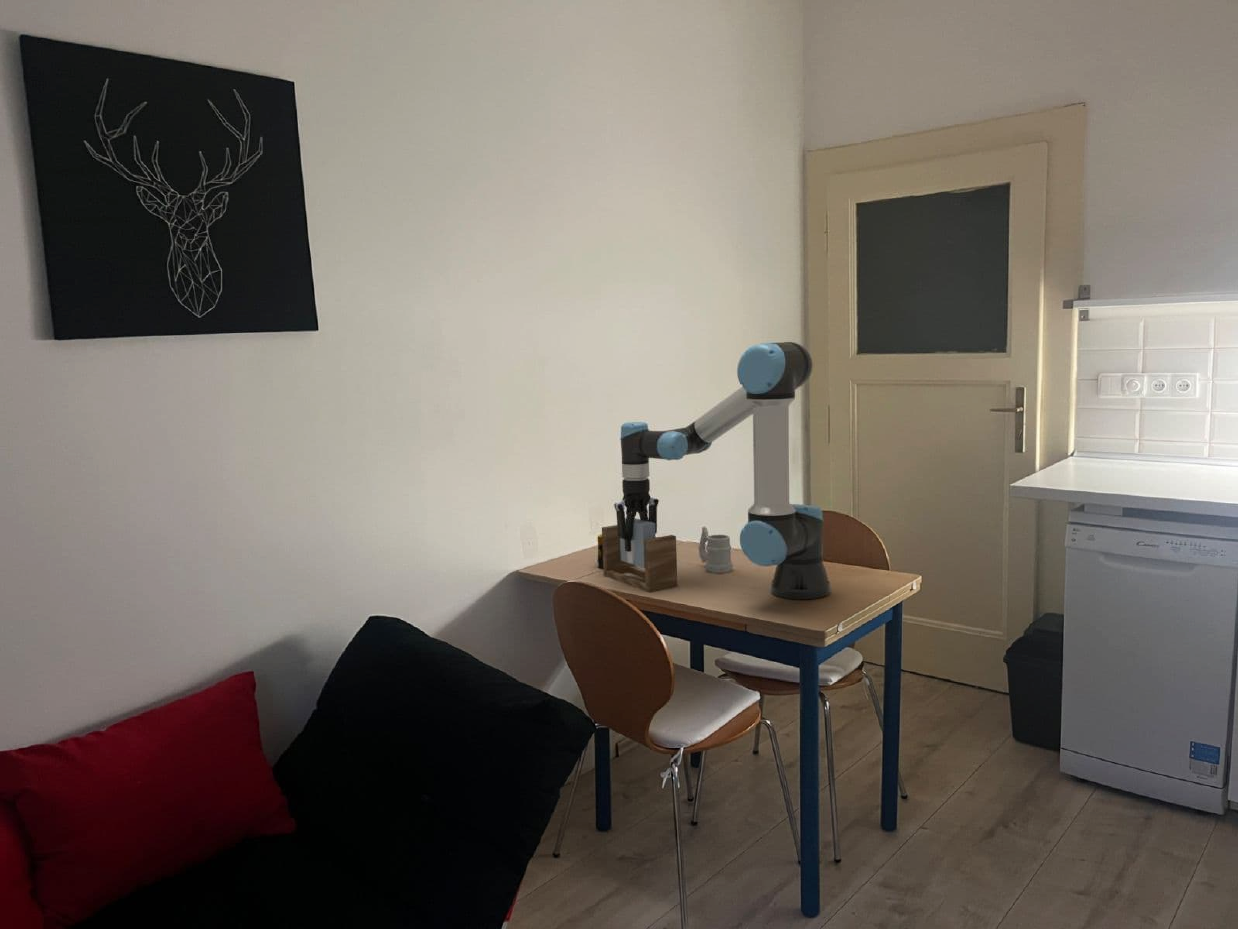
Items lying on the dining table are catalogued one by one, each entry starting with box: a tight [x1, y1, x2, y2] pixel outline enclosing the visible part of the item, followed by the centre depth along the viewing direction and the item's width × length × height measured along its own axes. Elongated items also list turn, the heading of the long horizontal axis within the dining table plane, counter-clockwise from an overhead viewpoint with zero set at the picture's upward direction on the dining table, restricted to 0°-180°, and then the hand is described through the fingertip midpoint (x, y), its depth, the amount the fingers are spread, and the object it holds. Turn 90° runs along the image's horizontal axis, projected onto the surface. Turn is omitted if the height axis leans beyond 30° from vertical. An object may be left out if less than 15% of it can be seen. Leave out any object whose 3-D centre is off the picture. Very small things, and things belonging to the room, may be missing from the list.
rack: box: [601, 524, 679, 593], centre depth 257 cm, size 24×9×14 cm, turn 32°
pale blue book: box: [620, 517, 657, 569], centre depth 256 cm, size 12×4×12 cm, turn 32°
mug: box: [698, 526, 734, 574], centre depth 267 cm, size 8×12×12 cm, turn 38°
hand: (638, 561), depth 257 cm, fingers closed on pale blue book, 4 cm apart
